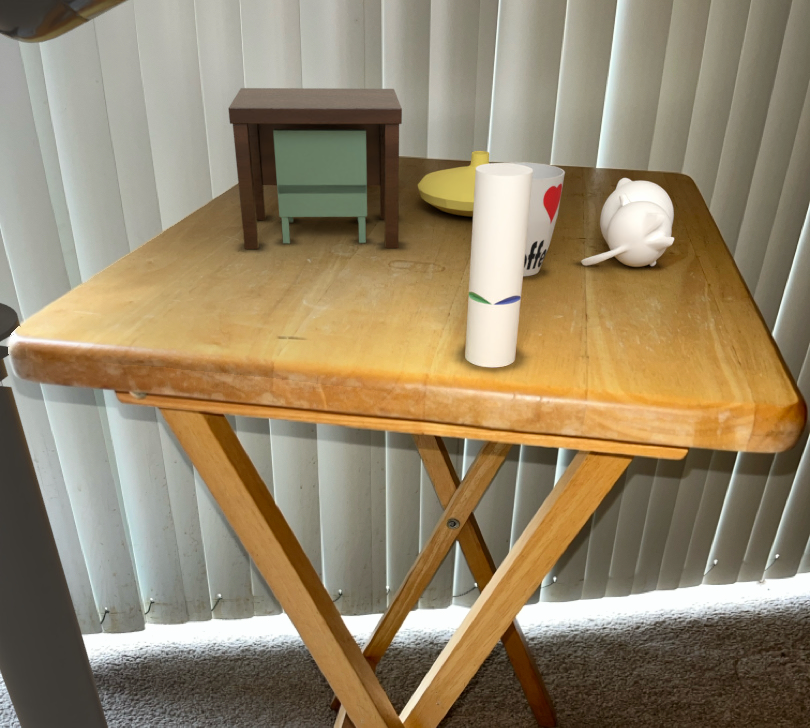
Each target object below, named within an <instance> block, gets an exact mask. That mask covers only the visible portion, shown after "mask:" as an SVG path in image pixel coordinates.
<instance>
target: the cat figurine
mask: <svg viewBox="0 0 810 728" xmlns="http://www.w3.org/2000/svg"><path fill="white" fill-rule="evenodd" d="M674 211H675V210H674V204H673V202H672V200H671V198H670V196H669V194H668V193H667V191H666V190H665V189H664V188H662V187H661V186H660V185H659V184H657V183H654V182H652V181H648V180H631V179H630V178H627V177H623V178H621V179H619V181H618V182H617V184H616V188H615V190H614V191H613V192H611V193H610V195H609V196H608V197H607V198H606V200H605V201H604V204H603V206H602V208H601V212H600V218H599V227H600V231H601V235H602V238H603V240H604V241H605V242H606V244H607V246H608V248H609V250H608V251H606V252H602V253H598V254H596V255H595V254H594V255H593V256H588V257H586V258H583V259H581V260H580V262H581V265H583V266H591V265H592V266H593V265H596V264H598V263H601V262H604V261H606V260H608V259H611V258H613V257H614V258H615V259H616V260H617V261H618V262H620V263H622V264H623V265H626V266H628V267H632V268H633V267H634V268H639V267H645V266H648V265H649V266H650V267H655V265H656V264H657V260H658V259H660V257H662V256H663V254H664V253H665V252H666V250H667V249H668V248H669V247H671V246H672V245H673V243H674V241H675V237H674V236H672V229H673V228H672V227H673V224H674V219H675V218H674V217H675V214H674V213H675V212H674Z"/></svg>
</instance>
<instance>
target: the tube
mask: <svg viewBox="0 0 810 728" xmlns="http://www.w3.org/2000/svg"><path fill="white" fill-rule="evenodd" d="M532 176H533V169H532V168H530V167H527V166H524V165H519V164H511V163H507V162H491V163H490V162H489V164H483V165H480V166H477V167H476V173H475V191H474V208H473V216H472V225H471V230H472V231H471V242H470V243H471V244H470V263H469V277H468V278H469V279H468V298H467V312H466V313H467V315H466V331H465V350H464V358H465V360H466V361H467V362H469V363H470V364H473V365H475V366H478V367H482V368H501V367H506V366H509V365H512V364H513V363H514V362H515V361H516V355H517V342H518V331H519V323H520V312H521V301H522V288H523V280H524V279H523V278H524V276H523V271H524V260H525V249H526V239H527V228H528V218H529V207H530V197H531V186H532Z"/></svg>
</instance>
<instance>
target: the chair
mask: <svg viewBox="0 0 810 728" xmlns="http://www.w3.org/2000/svg"><path fill="white" fill-rule="evenodd" d="M273 136H274V149H275V163H276V177H277V185H276V189H277V203H278V217H279V218H281V231H282V234H281V235H282V244H291V232H290V223H294V218H345V217H346V218H349V217H350V218H352V217H353V218H356V221H357V223H358V243H359V244H366V242H367V234H366V233H367V232H366V231H367V230H366V218H367V217H368V185H367V163H366V129H274V130H273Z"/></svg>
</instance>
